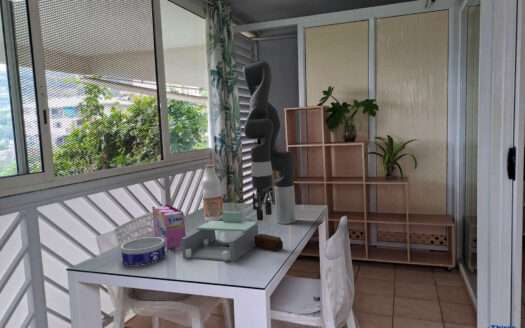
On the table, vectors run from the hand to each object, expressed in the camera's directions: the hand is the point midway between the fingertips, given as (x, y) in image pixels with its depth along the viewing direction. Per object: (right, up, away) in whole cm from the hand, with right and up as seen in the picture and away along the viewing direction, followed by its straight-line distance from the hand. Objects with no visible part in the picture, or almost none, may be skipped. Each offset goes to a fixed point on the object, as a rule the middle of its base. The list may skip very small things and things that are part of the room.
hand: (264, 217), depth 137 cm
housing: (-16, -13, +4) cm, 21 cm away
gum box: (-40, -13, +21) cm, 47 cm away
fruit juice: (-26, -9, +53) cm, 59 cm away
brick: (+2, -12, +2) cm, 12 cm away
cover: (-15, -5, +9) cm, 18 cm away
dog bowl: (-45, -16, +1) cm, 47 cm away
